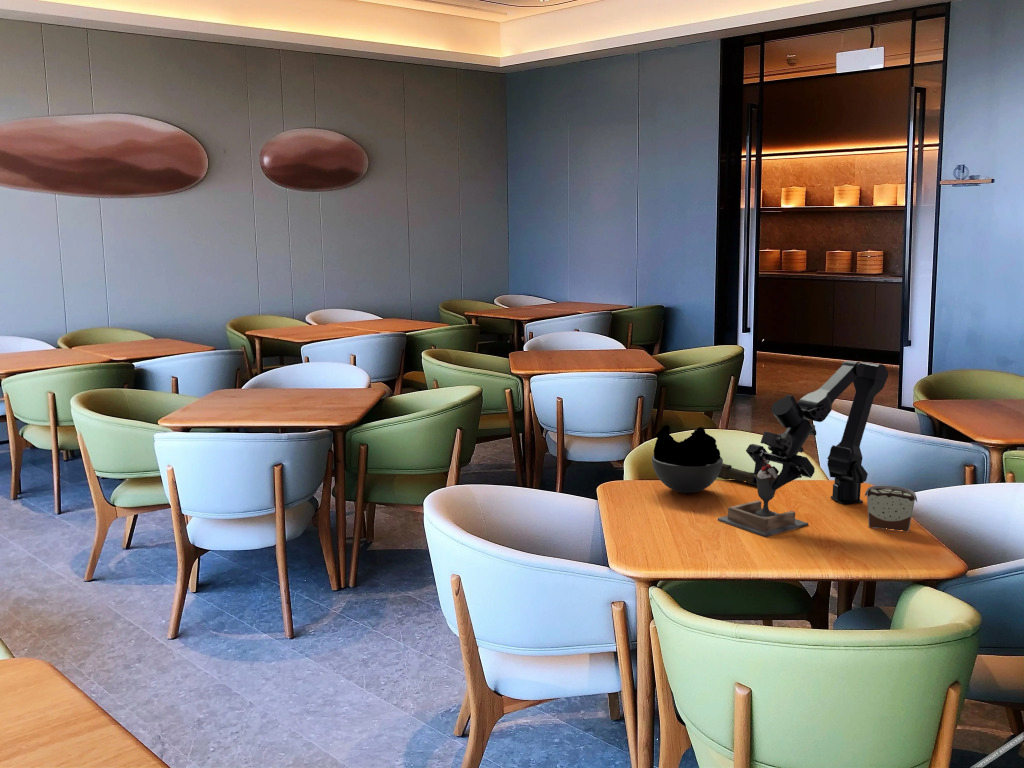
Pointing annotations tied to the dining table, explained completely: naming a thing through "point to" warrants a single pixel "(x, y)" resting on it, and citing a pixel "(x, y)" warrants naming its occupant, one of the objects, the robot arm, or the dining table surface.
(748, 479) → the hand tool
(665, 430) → the coal bowl
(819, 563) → the dining table surface
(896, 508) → the food container
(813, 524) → the dining table surface
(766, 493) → the sundae
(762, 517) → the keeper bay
